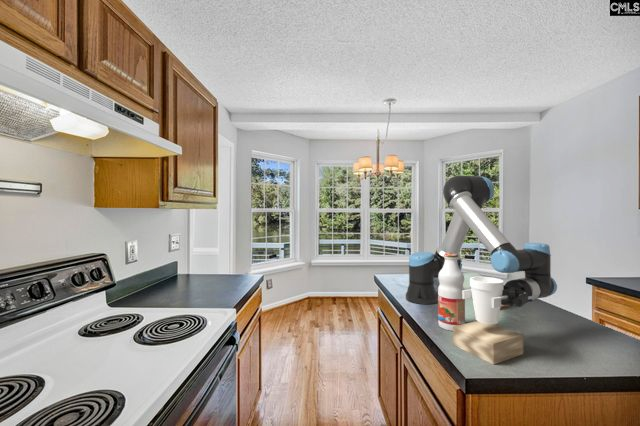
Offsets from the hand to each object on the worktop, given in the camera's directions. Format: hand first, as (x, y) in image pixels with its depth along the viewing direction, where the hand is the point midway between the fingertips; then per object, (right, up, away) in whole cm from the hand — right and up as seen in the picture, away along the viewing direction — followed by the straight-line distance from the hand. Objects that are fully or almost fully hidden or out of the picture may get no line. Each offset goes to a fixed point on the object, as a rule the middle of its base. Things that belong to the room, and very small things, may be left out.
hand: (477, 298), depth 92 cm
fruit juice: (+1, -17, +20) cm, 26 cm away
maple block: (+4, -17, +2) cm, 17 cm away
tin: (+32, -17, +42) cm, 55 cm away
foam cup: (+4, -8, +2) cm, 9 cm away
